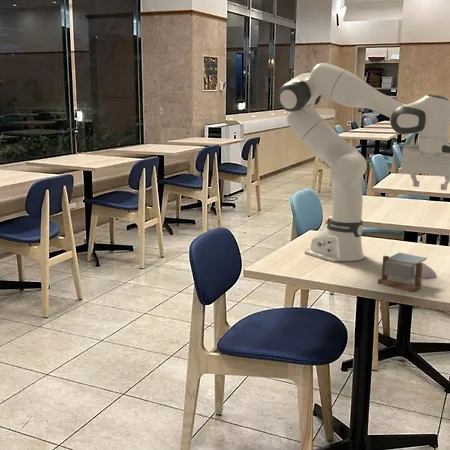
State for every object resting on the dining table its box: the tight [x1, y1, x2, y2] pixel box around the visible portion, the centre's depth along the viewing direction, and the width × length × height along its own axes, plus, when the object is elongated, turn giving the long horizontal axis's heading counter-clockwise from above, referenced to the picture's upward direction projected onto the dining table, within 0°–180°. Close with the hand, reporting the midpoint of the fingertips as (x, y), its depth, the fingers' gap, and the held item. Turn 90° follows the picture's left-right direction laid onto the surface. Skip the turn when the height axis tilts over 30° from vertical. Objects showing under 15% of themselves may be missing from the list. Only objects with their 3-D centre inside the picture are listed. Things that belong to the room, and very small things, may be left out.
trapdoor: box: [384, 252, 427, 281], centre depth 186 cm, size 9×11×5 cm
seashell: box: [413, 262, 437, 280], centre depth 197 cm, size 10×6×10 cm
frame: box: [377, 255, 423, 293], centre depth 184 cm, size 13×4×8 cm, turn 49°
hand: (429, 188), depth 189 cm, fingers open, 8 cm apart
